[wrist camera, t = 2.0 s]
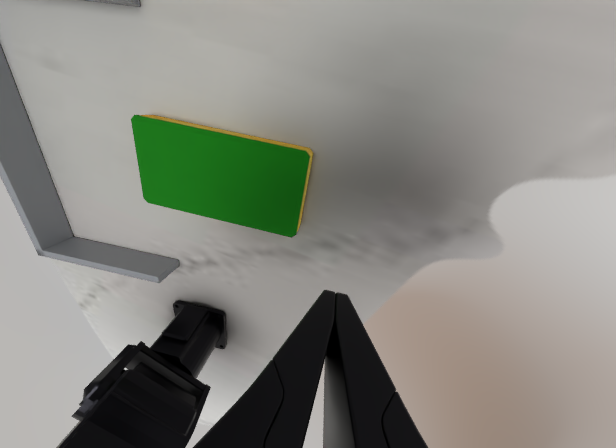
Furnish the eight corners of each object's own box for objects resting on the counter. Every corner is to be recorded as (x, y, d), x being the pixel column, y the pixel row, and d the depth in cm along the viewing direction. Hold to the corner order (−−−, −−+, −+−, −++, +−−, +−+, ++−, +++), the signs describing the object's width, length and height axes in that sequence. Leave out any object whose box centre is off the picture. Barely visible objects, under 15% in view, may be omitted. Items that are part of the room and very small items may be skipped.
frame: (179, 265, 25) (159, 283, 23) (69, 241, 27) (38, 255, 24) (138, -9, 15) (92, -36, 13) (-37, -29, 16) (-112, -56, 14)
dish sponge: (300, 226, 21) (294, 239, 19) (163, 193, 22) (142, 202, 20) (314, 148, 18) (310, 152, 16) (154, 114, 19) (128, 113, 17)
